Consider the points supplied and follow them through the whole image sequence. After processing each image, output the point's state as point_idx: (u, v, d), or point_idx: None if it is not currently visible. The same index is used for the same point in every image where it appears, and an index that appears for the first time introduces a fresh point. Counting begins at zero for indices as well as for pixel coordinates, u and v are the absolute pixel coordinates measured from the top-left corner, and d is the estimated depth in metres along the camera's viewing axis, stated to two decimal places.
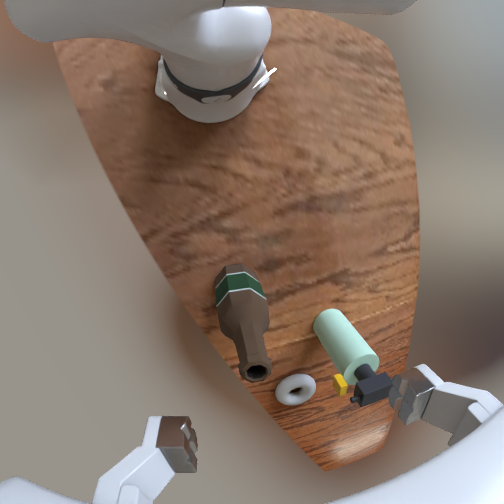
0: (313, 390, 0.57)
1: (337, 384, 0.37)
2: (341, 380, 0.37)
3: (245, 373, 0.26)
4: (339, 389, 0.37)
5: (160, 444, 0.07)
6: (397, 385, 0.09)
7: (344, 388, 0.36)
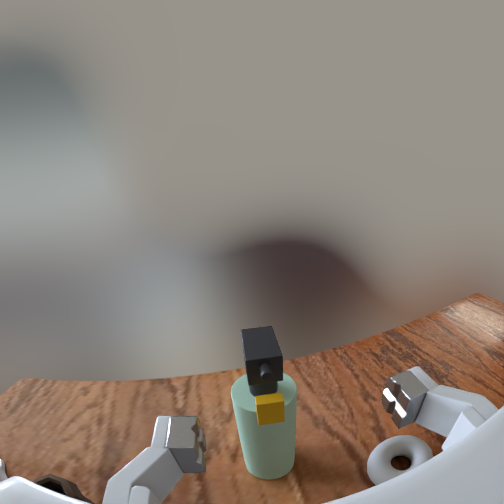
0: (392, 439, 0.27)
1: (263, 413, 0.20)
2: (256, 410, 0.21)
3: None
4: (268, 407, 0.20)
5: (170, 444, 0.07)
6: (390, 388, 0.09)
7: (262, 399, 0.21)
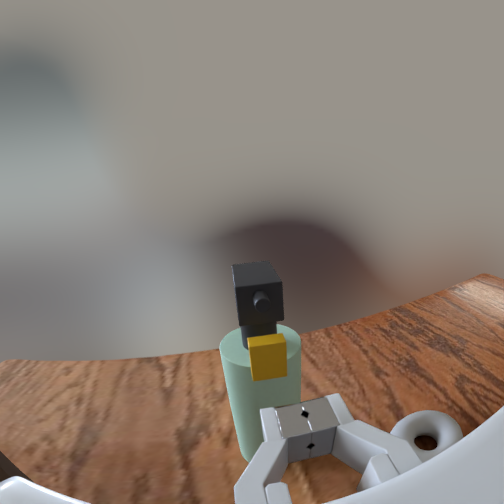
0: (414, 414, 0.23)
1: (259, 361, 0.17)
2: None
3: None
4: (265, 351, 0.17)
5: (286, 434, 0.07)
6: None
7: (257, 340, 0.17)
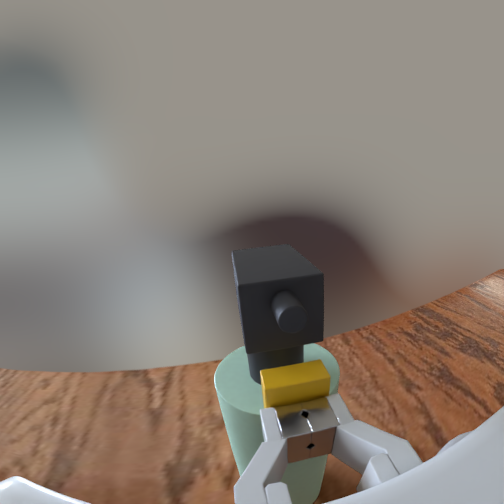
0: (460, 438, 0.15)
1: None
2: (264, 403, 0.09)
3: None
4: (293, 394, 0.09)
5: (286, 434, 0.07)
6: None
7: (278, 375, 0.09)
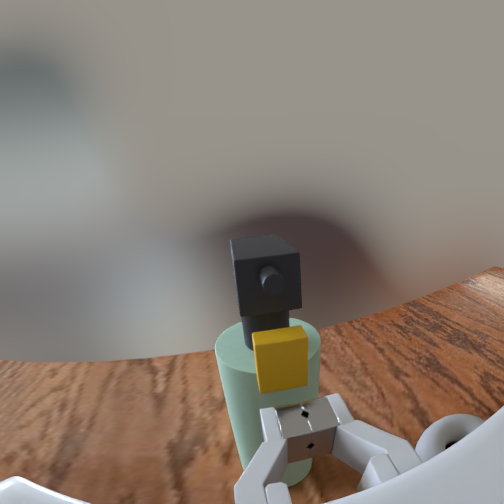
0: (444, 420, 0.18)
1: (269, 366, 0.12)
2: (255, 362, 0.12)
3: None
4: (278, 351, 0.11)
5: (286, 434, 0.07)
6: None
7: (266, 335, 0.12)
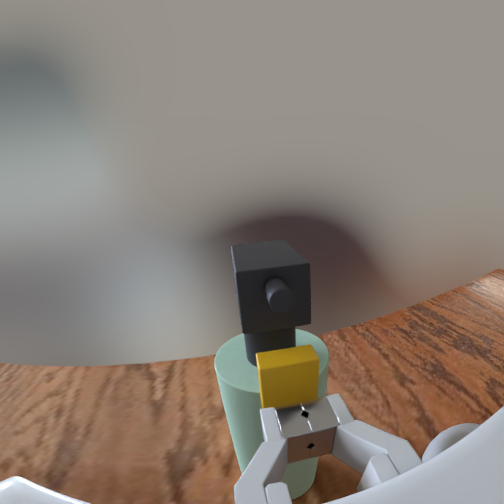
0: (451, 430, 0.16)
1: (275, 390, 0.10)
2: (259, 384, 0.11)
3: None
4: (285, 374, 0.10)
5: (286, 434, 0.07)
6: None
7: (272, 357, 0.10)
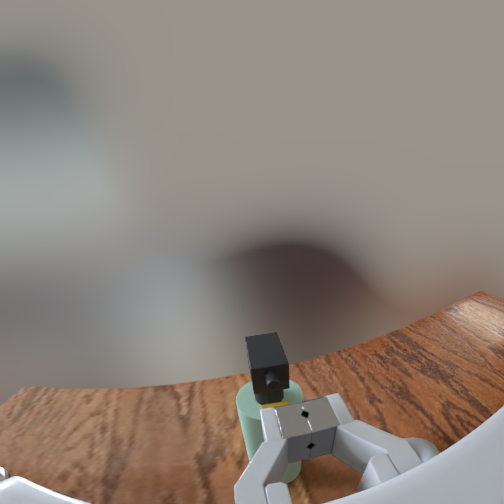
0: None
1: None
2: None
3: None
4: None
5: (286, 434, 0.07)
6: None
7: (268, 407, 0.20)
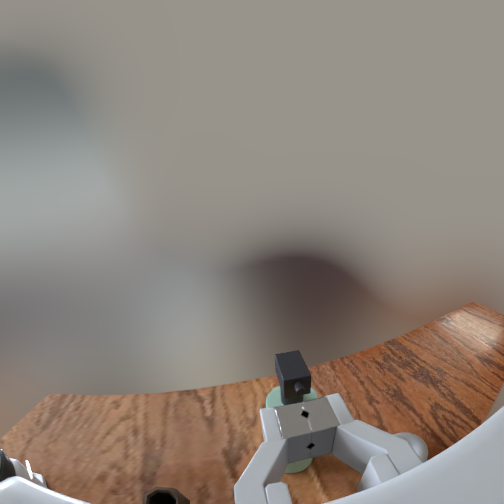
0: None
1: None
2: None
3: None
4: None
5: (286, 434, 0.07)
6: None
7: None
